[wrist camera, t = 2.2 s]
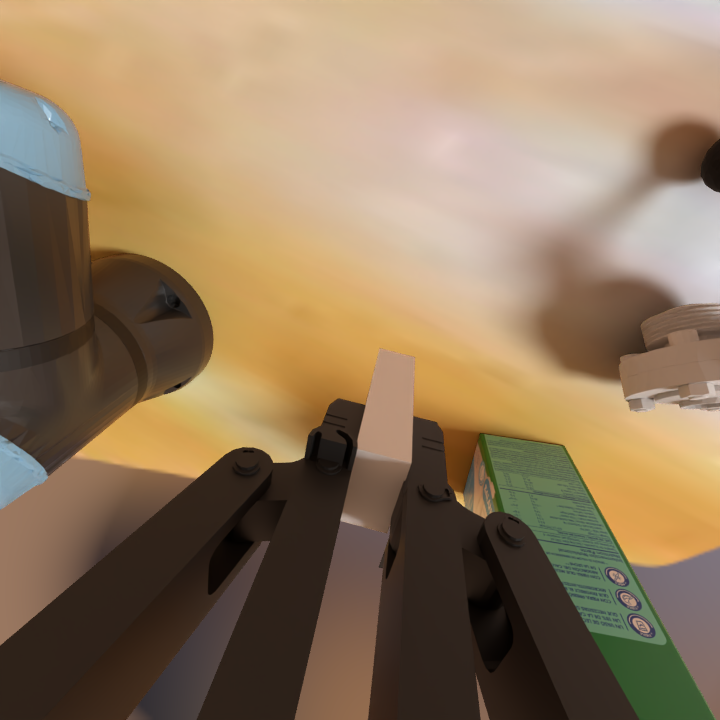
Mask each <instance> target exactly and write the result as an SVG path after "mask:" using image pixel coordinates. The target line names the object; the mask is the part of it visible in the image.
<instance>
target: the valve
mask: <svg viewBox="0 0 720 720" xmlns="http://www.w3.org/2000/svg"><path fill="white" fill-rule="evenodd" d="M701 177H702V179H703V181H704V183H705V185H707V186H708V187H709V188H711V189H712V190H714V191H716V192H720V139H719V140H718V141H717V142H716V143H715V144H714V145H713V146H712V147H711V148H710V149H709V150H708V152H707V154H706V156H705V157H704V159H703V162H702V165H701ZM641 328H642V333H643V337H644V338H643V339H644V341H645V343H644V344H645V346H646V350H647V351H649V352H646V353H642V354H638V353H637V354H628V355H624V356H621V357H620V362H621V363H620V364H619V366H618V367H619V372H620V378H621V383H622V388H623V392H624V397H625V400H626V401H628V402H629V407H630V411H636V412H647V411H650V410H653V409H655V404H679V406H680V408H681V409H700V410H707V411H720V303H707V304H689V305H684V306H679V307H676V308H672V309H669V310H667V311H665V312H663V313H660V314H657V315H654V316H652V317H650V318H648V319H646V320H645V321H644V322H643V323H642V324H641Z"/></svg>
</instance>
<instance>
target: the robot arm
mask: <svg viewBox="0 0 720 720" xmlns="http://www.w3.org/2000/svg"><path fill="white" fill-rule="evenodd" d="M90 198H91V193H90V192H89V190H88V189H87V188H86V184H85V176H84V168H83V159H82V151H81V143H80V138H79V134H78V131H77V129H76V127H75V125H74V123H73V122H72V120H71V119H70V117H69V116H68V115H67V114H66V113H65V112H64V111H63V110H62V109H61V108H60V107H59V106H57V105H56V104H55V103H53V102H52V101H50V100H49V99H47V98H45V97H43V96H41V95H39V94H36V93H34V92H32V91H29V90H27V89H24V88H22V87H19V86H16V85H14V84H11V83H9V82H6V81H4V80H1V79H0V510H1V509H2V508H4V507H6V506H7V505H8V504H10V503H11V502H13V501H14V500H15V499H17V498H18V497H19V496H21V495H22V494H23V493H25V492H26V491H28V490H30V489H31V488H32V487H34V486H36V485H40V484H42V483H43V482H44V481H46V479H47V478H48V476H49V475H50V474H51V473H53V472H54V471H55V470H56V469H58V468H59V467H60V466H61V465H62V464H64V463H65V462H66V461H67V460H69V459H70V458H71V457H72V456H73V455H75V454H76V453H77V452H78V451H79V450H81V449H82V448H83V447H84V446H86V445H87V444H88V443H89V442H90V441H92V440H93V439H94V438H95V437H96V436H98V435H99V434H100V433H101V432H103V431H104V430H105V429H106V428H107V427H109V426H110V425H111V424H112V423H113V422H115V421H116V420H117V419H118V418H120V417H121V416H122V415H123V414H124V413H126V412H127V411H128V410H129V409H131V408H132V407H133V406H134V405H136V404H137V403H140V402H143V401H146V400H149V399H152V398H155V397H159V396H161V395H163V394H168V393H171V392H174V391H176V390H179V389H181V388H182V387H184V386H186V385H187V384H188V383H190V382H191V381H192V380H193V379H194V378H195V377H196V376H198V375H199V374H200V373H201V372H202V371H203V370H204V368H205V367H206V365H207V364H208V362H209V359H210V357H211V354H212V349H213V329H212V324H211V320H210V317H209V315H208V312H207V310H206V308H205V306H204V304H203V302H202V300H201V299H200V297H199V295H198V294H197V293H196V291H195V290H194V289H193V288H192V286H191V285H190V284H189V283H188V282H187V281H186V280H185V279H184V278H183V277H182V276H181V275H179V274H178V273H177V272H176V271H174V270H173V269H171V268H170V267H168V266H167V265H165V264H163V263H161V262H159V261H157V260H154V259H152V258H149V257H146V256H142V255H136V254H118V255H113V256H109V257H105V258H101V259H98V260H95V261H93V262H91V255H90V239H89V224H88V208H87V201H90ZM414 369H415V357H412V356H408V355H404V354H400V353H396V352H392V351H388V350H384V349H379V353H378V357H377V361H376V365H375V369H374V373H373V377H372V381H371V385H370V389H369V393H368V397H367V401H366V405H363V404H359V403H355V402H351V401H347V400H343V399H339V398H338V399H337V400H335V401H334V402H333V403H331V404H330V405H329V408H328V410H327V413H326V415H325V418H324V420H323V423H322V425H321V426H319V427H317V428H315V429H313V430H312V431H311V433H310V434H309V435H308V441H307V447H306V452H305V458H303V459H301V460H299V461H295V462H290V463H273V461H272V459H271V458H270V456H269V455H268V454H267V453H265V452H264V451H262V450H260V449H256V448H247V447H243V448H239V449H235V450H232V451H231V452H229V453H227V454H226V455H224V456H223V457H222V458H221V459H220V460H218V461H217V462H216V463H215V464H214V465H213V466H211V467H210V468H209V469H208V470H207V471H205V472H204V473H203V474H202V475H201V476H200V477H198V478H197V479H196V480H195V481H194V482H193V483H191V484H190V485H189V486H188V487H187V488H185V489H184V490H183V491H182V492H181V493H180V494H178V495H177V496H176V497H175V498H174V499H172V500H171V501H170V502H169V503H168V504H167V505H165V506H164V507H163V508H162V509H161V510H160V511H158V512H157V513H156V514H155V515H154V516H153V517H151V518H150V519H149V520H148V521H147V522H145V523H144V524H143V525H142V526H141V527H139V528H138V529H137V530H136V531H135V532H134V533H132V534H131V535H130V536H129V537H128V538H127V539H125V540H124V541H123V542H122V543H121V544H119V545H118V546H117V547H116V548H115V549H114V550H113V551H111V552H110V553H109V554H108V555H107V556H106V557H104V558H103V559H102V560H101V561H99V562H98V563H97V564H96V565H95V566H94V567H92V568H91V569H90V570H89V571H88V572H86V573H85V574H84V575H83V576H82V577H81V578H80V579H78V580H77V581H76V582H75V583H73V584H72V585H71V586H70V587H69V588H68V589H66V590H65V591H64V592H63V593H62V594H61V595H59V596H58V597H57V598H56V599H55V600H54V601H52V602H51V603H50V604H49V605H48V606H46V607H45V608H44V609H43V610H42V611H41V612H39V613H38V614H37V615H36V616H35V617H33V618H32V619H31V620H30V621H29V622H28V623H26V624H25V625H24V626H23V627H22V628H21V629H19V631H17V632H16V633H15V634H13V635H12V636H11V637H10V638H9V639H7V640H6V641H5V642H4V643H3V644H2V645H1V646H0V720H126V719H127V718H128V717H129V715H130V714H131V713H132V712H133V710H134V709H135V708H136V706H137V705H138V704H139V702H140V701H141V700H142V698H143V697H144V696H145V694H146V693H147V692H148V690H149V689H150V688H151V687H152V685H153V684H154V683H155V681H156V680H157V679H158V678H159V676H160V675H161V674H162V672H163V671H164V670H165V668H166V667H167V666H168V665H169V663H170V662H171V661H172V659H173V658H174V657H175V655H176V654H177V653H178V651H179V650H180V649H181V647H182V646H183V645H184V644H185V642H186V641H187V639H188V638H189V637H190V636H191V634H192V633H193V632H194V631H195V629H196V628H197V627H198V625H199V624H200V622H201V621H202V620H203V619H204V617H205V616H206V615H207V614H208V612H209V611H210V610H211V608H212V607H213V606H214V604H215V603H216V602H217V600H218V599H219V598H220V597H221V595H222V594H223V592H224V591H225V590H226V589H227V587H228V586H229V585H230V583H231V582H232V581H233V579H234V578H235V577H236V576H237V574H238V573H239V572H240V570H241V569H242V568H243V566H244V565H245V564H246V563H247V561H248V560H249V559H250V557H251V556H252V554H253V553H254V552H255V551H256V549H257V548H258V547H259V546H260V544H261V542H262V541H270V543H269V546H268V548H267V551H266V553H265V555H264V558H263V560H262V563H261V565H260V568H259V570H258V573H257V575H256V577H255V580H254V582H253V585H252V587H251V590H250V592H249V594H248V597H247V599H246V602H245V604H244V606H243V609H242V611H241V614H240V616H239V619H238V621H237V623H236V626H235V628H234V631H233V633H232V635H231V638H230V641H229V643H228V645H227V648H226V650H225V652H224V655H223V658H222V660H221V662H220V665H219V667H218V669H217V672H216V674H215V677H214V679H213V682H212V684H211V687H210V689H209V691H208V694H207V696H206V699H205V701H204V704H203V706H202V709H201V711H200V713H199V716H198V718H197V720H294V719H295V714H296V710H297V705H298V701H299V697H300V692H301V688H302V684H303V680H304V676H305V671H306V666H307V663H308V658H309V654H310V649H311V645H312V641H313V637H314V632H315V628H316V624H317V619H318V615H319V611H320V606H321V602H322V598H323V593H324V589H325V585H326V580H327V576H328V571H329V568H330V563H331V559H332V555H333V550H334V546H335V541H336V537H337V533H338V529H339V524H340V521H343V522H347V523H350V524H354V525H358V526H361V527H365V528H369V529H373V530H376V531H380V532H384V533H387V532H388V529H389V526H390V536H389V540H388V542H387V545H386V548H385V551H384V554H383V557H382V560H381V562H380V565H379V568H383V575H382V585H381V595H380V605H379V615H378V625H377V635H376V646H375V655H374V666H373V676H372V687H371V697H370V706H369V716H368V720H480V710H479V701H478V693H477V683H476V676H477V679H478V682H479V685H480V689H481V692H482V695H483V699H484V702H485V706H486V709H487V712H488V716H489V719H490V720H639V718H638V716H637V714H636V713H635V711H634V709H633V707H632V706H631V704H630V702H629V700H628V698H627V697H626V695H625V693H624V691H623V690H622V688H621V686H620V684H619V683H618V681H617V679H616V677H615V676H614V674H613V672H612V670H611V668H610V667H609V665H608V663H607V661H606V660H605V658H604V656H603V654H602V653H601V651H600V649H599V647H598V645H597V644H596V642H595V640H594V638H593V637H592V635H591V633H590V631H589V630H588V628H587V626H586V624H585V622H584V621H583V619H582V617H581V615H580V614H579V612H578V610H577V608H576V607H575V605H574V603H573V601H572V599H571V598H570V596H569V594H568V592H567V591H566V589H565V587H564V585H563V584H562V582H561V580H560V578H559V577H558V575H557V573H556V571H555V569H554V568H553V566H552V564H551V562H550V561H549V559H548V557H547V555H546V554H545V552H544V550H543V548H542V546H541V545H540V543H539V541H538V539H537V538H536V536H535V534H534V533H533V532H532V530H531V529H530V528H529V526H527V525H526V524H525V523H524V522H523V521H521V520H520V519H519V518H517V517H515V516H513V515H511V514H509V513H504V512H492V513H490V514H489V515H488V516H486V518H483V517H481V516H479V515H477V514H475V513H473V512H472V511H470V510H468V509H467V508H465V507H463V506H462V505H461V504H460V503H459V502H457V500H456V496H455V493H454V491H453V489H452V488H451V487H450V486H449V485H448V483H447V472H446V461H445V453H444V451H445V450H444V445H443V444H444V439H443V432H442V430H441V429H440V427H439V426H438V424H437V422H433V421H430V420H426V419H422V418H418V417H414V416H413V402H414ZM390 524H391V525H390ZM475 672H476V674H475Z"/></svg>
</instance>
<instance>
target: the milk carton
mask: <svg viewBox="0 0 720 720" xmlns="http://www.w3.org/2000/svg"><path fill="white" fill-rule="evenodd" d="M463 495H464V502H465V508H467V509H468V510H470V511H472V512H473V513H475V514H477V515H479V516H481V517H483V518H486V516H488V515H489V514H490V513H492V512H504V513H509V514H511V515H513V516H515V517H517V518H519V519H520V520H521V521H523V522H524V523H525V524H526V525H527V526H529V528H530V529H531V530H532V532H533V533H534V534H535V536H536V538H537V539H538V541H539V543H540V545H541V546H542V548H543V550H544V552H545V554H546V555H547V557H548V559H549V561H550V562H551V564H552V566H553V568H554V569H555V571H556V573H557V575H558V577H559V578H560V580H561V582H562V584H563V585H564V587H565V589H566V591H567V592H568V594H569V596H570V598H571V599H572V601H573V603H574V605H575V607H576V608H577V610H578V612H579V614H580V615H581V617H582V619H583V621H584V622H585V624H586V626H587V628H588V630H589V631H590V633H591V635H592V637H593V638H594V640H595V642H596V644H597V645H598V647H599V649H600V651H601V653H602V654H603V656H604V658H605V660H606V661H607V663H608V665H609V667H610V668H611V670H612V672H613V674H614V676H615V677H616V679H617V681H618V683H619V684H620V686H621V688H622V690H623V691H624V693H625V695H626V697H627V698H628V700H629V702H630V704H631V706H632V707H633V709H634V711H635V713H636V714H637V716H638V718H639V720H716V719H715V717H714V715H713V713H712V712H711V710H710V708H709V706H708V704H707V702H706V701H705V699H704V697H703V695H702V693H701V692H700V690H699V688H698V686H697V684H696V683H695V681H694V679H693V677H692V675H691V674H690V672H689V670H688V668H687V666H686V664H685V663H684V661H683V659H682V657H681V656H680V654H679V652H678V650H677V648H676V646H675V645H674V643H673V641H672V639H671V637H670V636H669V634H668V632H667V630H666V628H665V627H664V625H663V623H662V621H661V619H660V618H659V616H658V614H657V612H656V610H655V608H654V607H653V605H652V603H651V601H650V600H649V598H648V596H647V594H646V592H645V590H644V589H643V587H642V585H641V583H640V581H639V580H638V578H637V576H636V574H635V572H634V571H633V569H632V567H631V565H630V563H629V562H628V560H627V558H626V556H625V554H624V552H623V551H622V549H621V547H620V545H619V543H618V542H617V540H616V538H615V536H614V534H613V533H612V531H611V529H610V527H609V525H608V524H607V522H606V520H605V518H604V516H603V515H602V513H601V511H600V509H599V507H598V506H597V504H596V502H595V500H594V498H593V496H592V495H591V493H590V491H589V489H588V487H587V486H586V484H585V482H584V480H583V478H582V477H581V475H580V473H579V471H578V469H577V468H576V466H575V464H574V462H573V460H572V459H571V457H570V455H569V453H568V451H567V450H566V448H565V446H560V445H554V444H547V443H540V442H534V441H527V440H521V439H514V438H507V437H501V436H494V435H488V434H481V433H480V436H479V439H478V443H477V446H476V450H475V454H474V457H473V461H472V464H471V468H470V471H469V475H468V479H467V482H466V486H465V489H464V493H463Z"/></svg>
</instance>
